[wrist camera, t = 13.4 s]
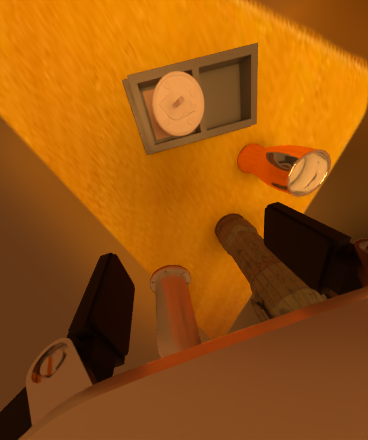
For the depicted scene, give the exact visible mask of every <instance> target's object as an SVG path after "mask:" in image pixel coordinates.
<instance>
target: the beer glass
mask: <svg viewBox="0 0 368 440" xmlns="http://www.w3.org/2000/svg"><path fill="white" fill-rule="evenodd" d="M330 165H331V160H330V156H329V154H328V153H327V152H326V151H324V150H318V149H313V148H309V147H304V146H297V145H280V146H273V147H262V146H260V145H258V144H250V145H248V146H246V147H245V148H244V149H243V150H242V151H241V153H240V154H239V157H238V166H239V168H240V170H241V171H243V172H245V173H252V174H254V175H256V176H257V177H258V178H259V179H260V180H262V181H263V182H264V183H266V184H267V185H269V186H271V187H272V188H275V189H277V190H279V191H282V192H285V193H288V194H291V195H293V196H298V197H300V196H305V195H308V194H310V193H311V192H313V191H314V190H316V189H317V188H318V187H319V186H320V185H321V184H322V183H323V181H324V180H325V178H326V177H327V175H328V172H329V169H330Z"/></svg>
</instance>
